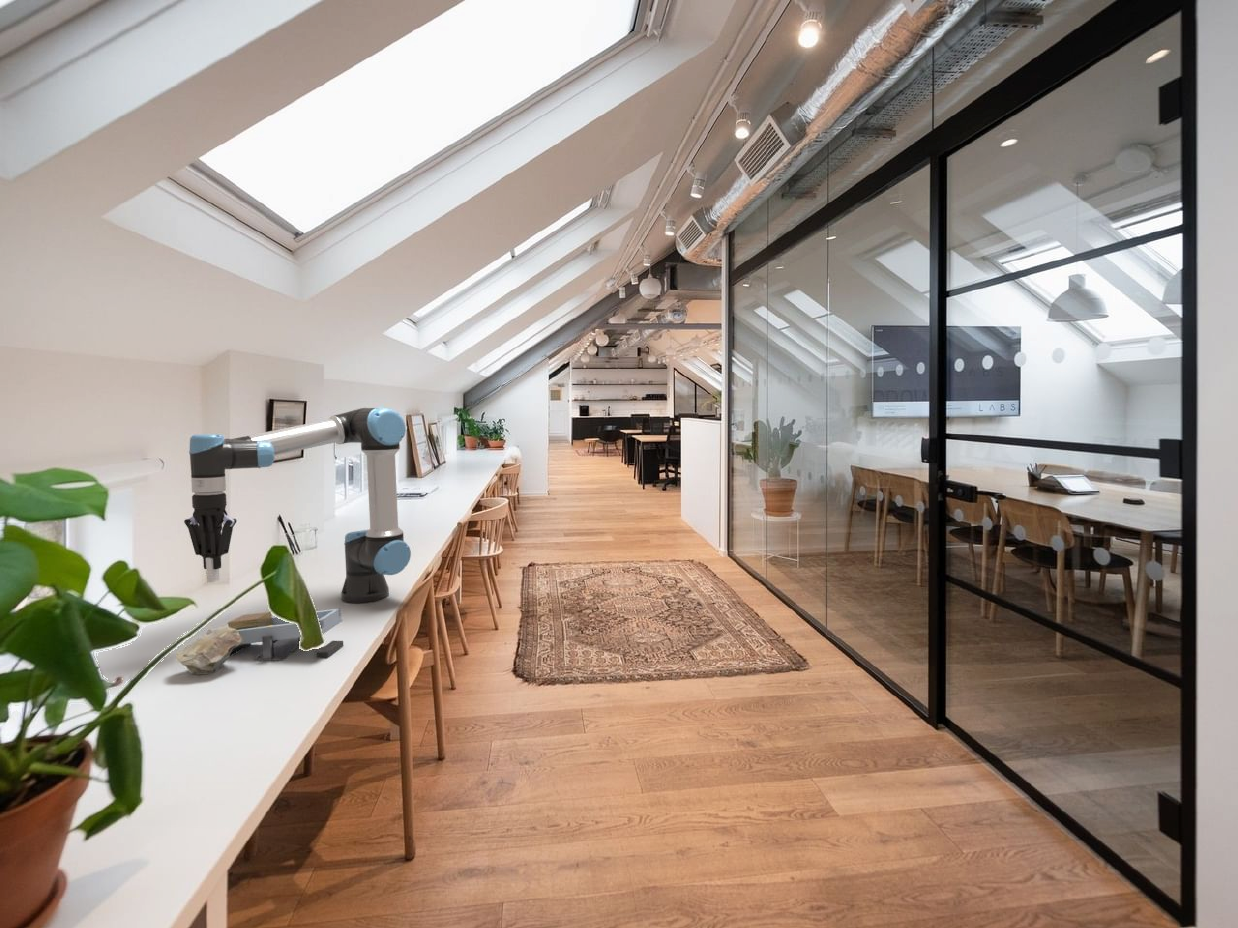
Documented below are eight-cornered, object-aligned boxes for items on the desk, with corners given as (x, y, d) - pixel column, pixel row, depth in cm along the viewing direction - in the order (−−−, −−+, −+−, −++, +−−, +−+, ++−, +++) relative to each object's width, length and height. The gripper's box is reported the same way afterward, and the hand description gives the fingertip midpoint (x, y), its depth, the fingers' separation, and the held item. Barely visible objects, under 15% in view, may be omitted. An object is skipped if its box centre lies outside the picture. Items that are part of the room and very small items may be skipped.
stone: (231, 679, 147) (229, 638, 146) (165, 684, 145) (162, 642, 144) (250, 661, 158) (248, 623, 157) (188, 665, 155) (186, 626, 155)
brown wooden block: (245, 629, 168) (242, 614, 168) (273, 625, 167) (270, 611, 167) (230, 637, 162) (227, 622, 162) (259, 633, 161) (256, 618, 161)
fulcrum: (246, 640, 172) (245, 617, 172) (348, 642, 171) (347, 619, 170) (212, 659, 159) (211, 635, 158) (322, 662, 157) (321, 637, 157)
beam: (246, 631, 171) (244, 619, 171) (343, 620, 169) (341, 606, 169) (217, 648, 159) (214, 634, 159) (321, 635, 158) (318, 621, 157)
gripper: (174, 494, 159) (178, 584, 161) (223, 495, 158) (227, 585, 160) (195, 490, 166) (200, 576, 168) (242, 491, 166) (246, 577, 168)
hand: (213, 580), depth 164 cm, fingers closed
